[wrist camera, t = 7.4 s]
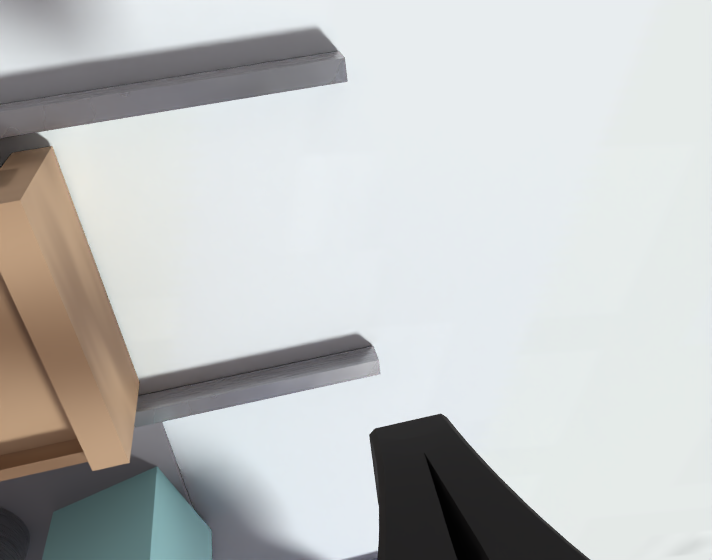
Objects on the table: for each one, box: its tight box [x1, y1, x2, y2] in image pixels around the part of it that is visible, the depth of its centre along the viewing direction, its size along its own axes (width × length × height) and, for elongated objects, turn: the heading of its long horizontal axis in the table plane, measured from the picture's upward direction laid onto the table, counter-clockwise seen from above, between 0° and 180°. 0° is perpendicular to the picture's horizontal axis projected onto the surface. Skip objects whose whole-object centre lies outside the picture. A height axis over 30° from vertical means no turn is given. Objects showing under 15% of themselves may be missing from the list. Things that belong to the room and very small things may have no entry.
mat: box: [0, 422, 193, 560], centre depth 23 cm, size 8×10×1 cm
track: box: [0, 51, 380, 428], centre depth 18 cm, size 10×17×1 cm, turn 96°
